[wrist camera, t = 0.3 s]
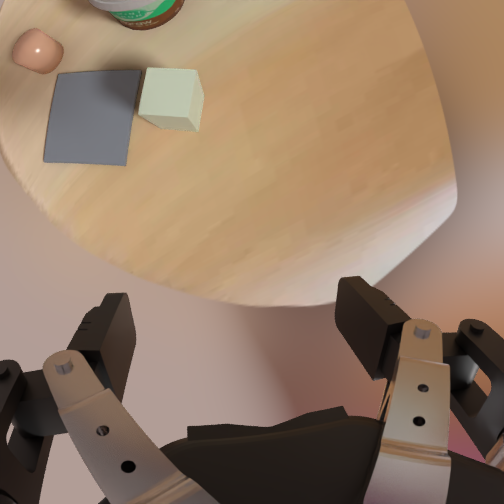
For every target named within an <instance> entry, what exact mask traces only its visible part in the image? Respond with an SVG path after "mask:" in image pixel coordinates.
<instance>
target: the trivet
mask: <svg viewBox="0 0 504 504" xmlns="http://www.w3.org/2000/svg"><path fill="white" fill-rule="evenodd" d="M141 73H142V71H141V70H111V71H90V72H77V73H66V74H58V79H57V83H56V87H55V92H54V97H53V102H52V107H51V113H50V118H49V125H48V131H47V138H46V146H45V155H44V162H46V163H81V164H102V165H118V166H126V162H127V154H128V146H129V139H130V132H131V126H132V120H133V114H134V108H135V103H136V97H137V92H138V87H139V82H140V78H141Z"/></svg>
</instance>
